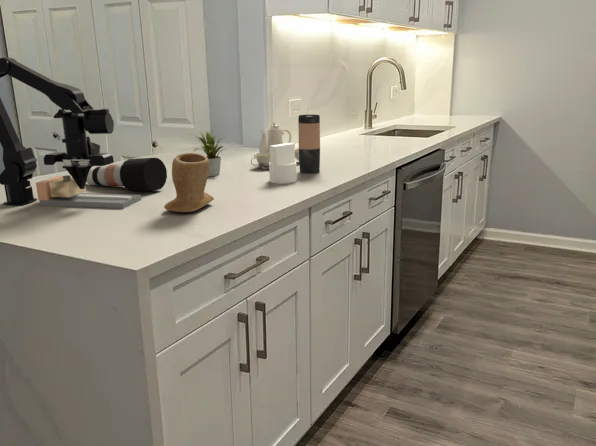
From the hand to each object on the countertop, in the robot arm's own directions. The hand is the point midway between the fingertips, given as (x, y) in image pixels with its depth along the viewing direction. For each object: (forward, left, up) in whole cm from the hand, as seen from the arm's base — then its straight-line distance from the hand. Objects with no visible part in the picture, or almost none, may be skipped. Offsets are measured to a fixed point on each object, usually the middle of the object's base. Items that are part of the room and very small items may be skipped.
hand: (82, 188), depth 155 cm
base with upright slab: (+50, +37, -4) cm, 63 cm away
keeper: (-5, 0, -1) cm, 5 cm away
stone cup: (+34, -2, -4) cm, 35 cm away
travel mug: (+56, +53, -4) cm, 77 cm away
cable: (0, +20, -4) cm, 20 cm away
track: (+2, 0, -4) cm, 5 cm away
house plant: (+21, +44, -4) cm, 49 cm away
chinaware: (+42, +68, -4) cm, 80 cm away
